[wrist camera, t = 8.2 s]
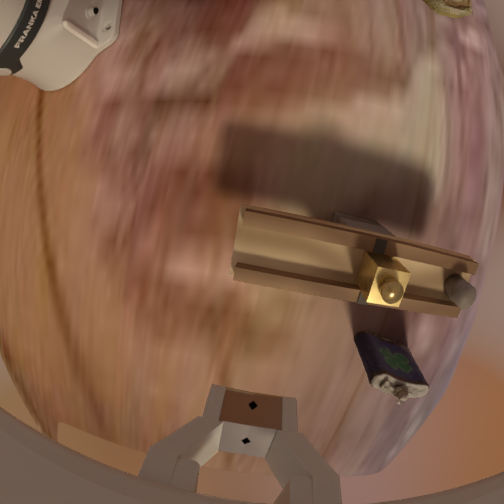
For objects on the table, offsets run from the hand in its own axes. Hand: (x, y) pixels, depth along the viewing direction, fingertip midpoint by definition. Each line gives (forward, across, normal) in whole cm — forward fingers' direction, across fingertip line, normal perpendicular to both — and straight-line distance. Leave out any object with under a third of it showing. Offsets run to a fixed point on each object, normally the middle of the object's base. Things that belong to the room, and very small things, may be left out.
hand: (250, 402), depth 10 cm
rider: (+17, -10, 0) cm, 20 cm away
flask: (+25, -18, +13) cm, 34 cm away
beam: (+25, -9, 0) cm, 27 cm away
